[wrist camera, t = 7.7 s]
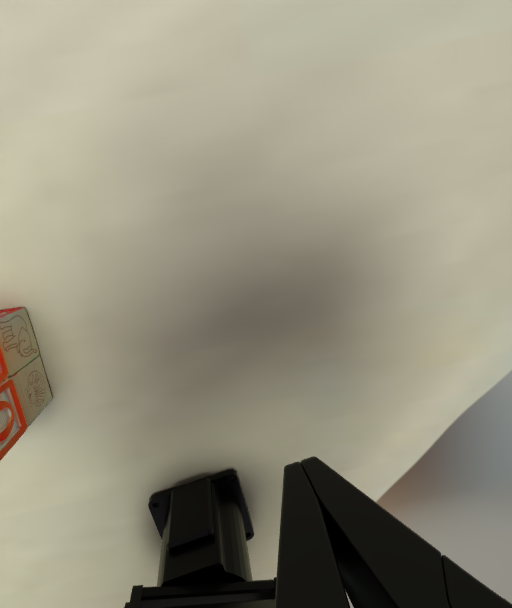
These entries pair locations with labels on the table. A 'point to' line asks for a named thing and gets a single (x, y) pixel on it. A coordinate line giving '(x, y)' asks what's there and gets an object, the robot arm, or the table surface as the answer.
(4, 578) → the table surface
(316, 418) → the table surface
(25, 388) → the stack of blocks
